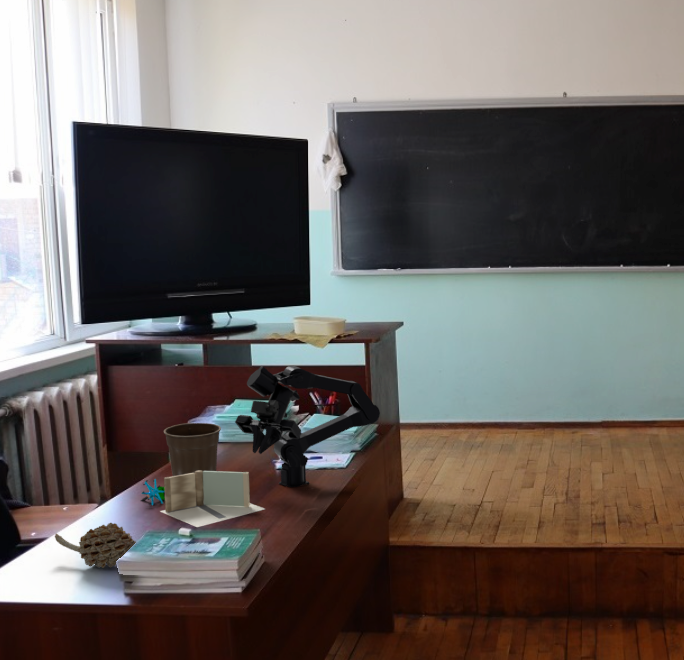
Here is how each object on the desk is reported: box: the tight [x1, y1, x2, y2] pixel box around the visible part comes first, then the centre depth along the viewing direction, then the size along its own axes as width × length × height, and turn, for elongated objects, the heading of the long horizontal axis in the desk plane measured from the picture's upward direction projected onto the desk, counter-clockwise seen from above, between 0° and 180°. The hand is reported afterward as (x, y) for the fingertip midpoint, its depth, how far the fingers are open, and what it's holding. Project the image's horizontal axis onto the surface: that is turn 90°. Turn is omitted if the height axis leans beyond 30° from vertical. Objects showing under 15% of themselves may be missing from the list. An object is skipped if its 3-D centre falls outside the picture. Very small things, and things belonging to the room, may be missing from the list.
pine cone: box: [54, 522, 137, 569], centre depth 215 cm, size 22×10×10 cm, turn 71°
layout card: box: [159, 502, 265, 528], centre depth 253 cm, size 21×18×1 cm
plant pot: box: [163, 422, 222, 488], centre depth 279 cm, size 16×16×16 cm
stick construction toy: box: [139, 478, 165, 507], centre depth 263 cm, size 12×7×8 cm
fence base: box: [163, 470, 204, 512], centre depth 255 cm, size 11×2×9 cm, turn 123°
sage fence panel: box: [203, 470, 251, 507], centre depth 255 cm, size 12×1×9 cm, turn 78°
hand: (256, 452), depth 263 cm, fingers closed
